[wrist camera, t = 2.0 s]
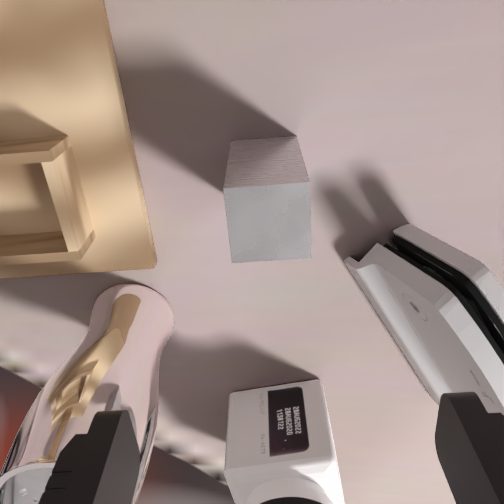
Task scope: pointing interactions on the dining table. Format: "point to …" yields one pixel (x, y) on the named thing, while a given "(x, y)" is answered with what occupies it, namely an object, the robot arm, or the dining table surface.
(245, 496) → the container
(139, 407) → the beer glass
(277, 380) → the dining table surface
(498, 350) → the card swipe reader
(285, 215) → the brushed grey block
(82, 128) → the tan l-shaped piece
